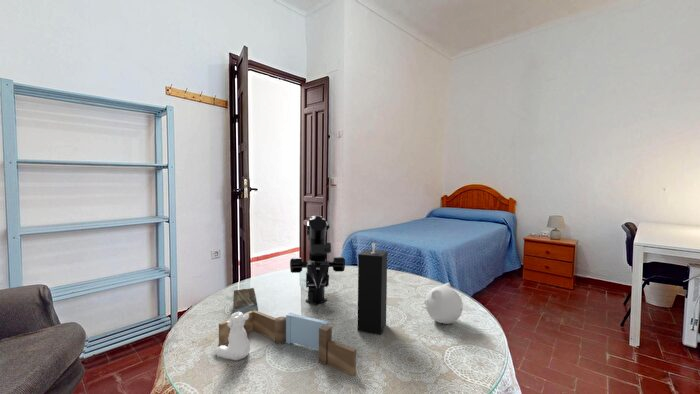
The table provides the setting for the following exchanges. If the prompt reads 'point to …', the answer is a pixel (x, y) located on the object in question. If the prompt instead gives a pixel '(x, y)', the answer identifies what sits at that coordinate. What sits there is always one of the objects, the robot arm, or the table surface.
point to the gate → (303, 330)
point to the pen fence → (276, 330)
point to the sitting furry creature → (235, 339)
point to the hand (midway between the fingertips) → (318, 287)
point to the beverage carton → (244, 300)
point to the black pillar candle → (372, 290)
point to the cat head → (443, 304)
